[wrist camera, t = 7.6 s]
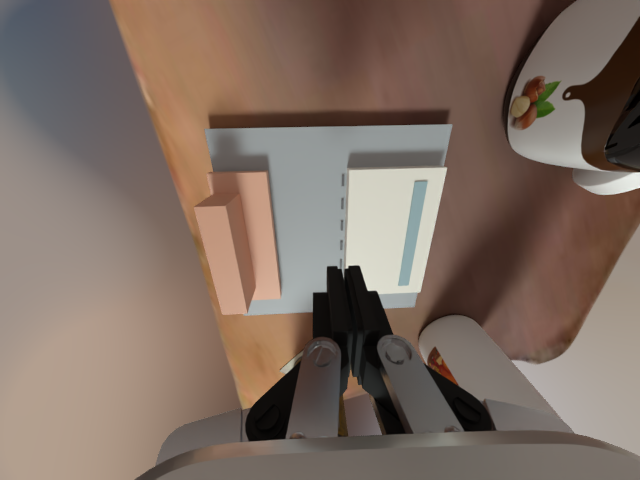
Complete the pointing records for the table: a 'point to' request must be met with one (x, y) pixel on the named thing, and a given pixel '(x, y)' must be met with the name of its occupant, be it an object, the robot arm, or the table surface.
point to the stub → (240, 239)
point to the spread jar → (582, 96)
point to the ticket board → (344, 203)
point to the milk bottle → (476, 363)
